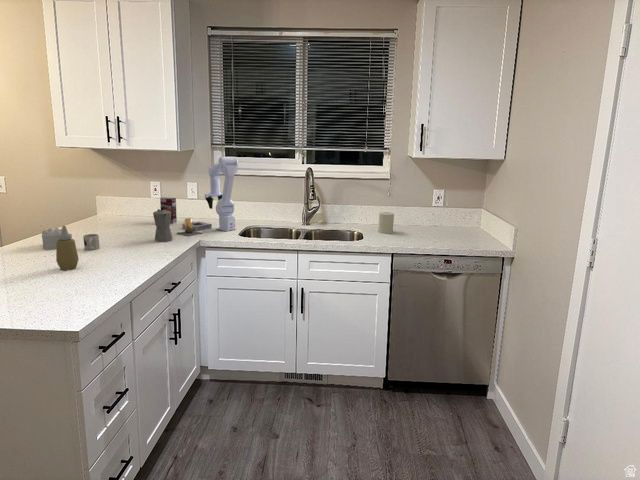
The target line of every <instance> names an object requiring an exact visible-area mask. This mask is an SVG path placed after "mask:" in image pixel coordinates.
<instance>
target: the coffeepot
mask: <svg viewBox="0 0 640 480" xmlns="http://www.w3.org/2000/svg"><path fill="white" fill-rule="evenodd" d="M159 208H160V209H159ZM159 208H158V209H157V211H156V210H155V211H153V212H152V215H153V221H154V223H155V226H156V228H155V235H154V241H155V242H158V243H167V242H171V241H173V234H172V230H171V227H170V225H171V224H170V221H171V212H170V211H165V210H163V208H164V207H161V206H160V207H159Z"/></svg>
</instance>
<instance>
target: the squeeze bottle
mask: <svg viewBox="0 0 640 480" xmlns="http://www.w3.org/2000/svg"><path fill="white" fill-rule="evenodd" d="M61 229H62V232H61V234H60V235H58V236H59V239H60V240H58V241H57V242H56V249H55V250H56V259H55V261H56V263H57V266H58V267H59V269H60V271H61V270H62V271H71V270H75V269H77V266H78V264H79V261H80V259H79V255H78V250H77V245H76V240H75V239H73V238H72V237H73V236H72V233H69V231H68V229H67V226H66V225H62V226H61Z"/></svg>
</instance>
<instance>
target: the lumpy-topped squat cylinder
mask: <svg viewBox="0 0 640 480" xmlns="http://www.w3.org/2000/svg"><path fill="white" fill-rule="evenodd" d="M61 232H62V228H61V229H60V228H58V227H55V228H54V229H52V228H48V229H47V230H46V229H44V230H42V231H41V239H42V246H43V247H42V248H43V250H45V251H53V250H56V242H57V241H58V240H60V239H59V236H58V235H60V234H61Z"/></svg>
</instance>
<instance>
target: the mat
mask: <svg viewBox="0 0 640 480" xmlns="http://www.w3.org/2000/svg"><path fill="white" fill-rule="evenodd" d="M176 234H177V235H182V236H184V237H185V236H186V237H191V236H195V235H200V234H201V235H202V234H203V232H201V231H193V233H189V234H188V233H185V230H184V231H179V232H176Z"/></svg>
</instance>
